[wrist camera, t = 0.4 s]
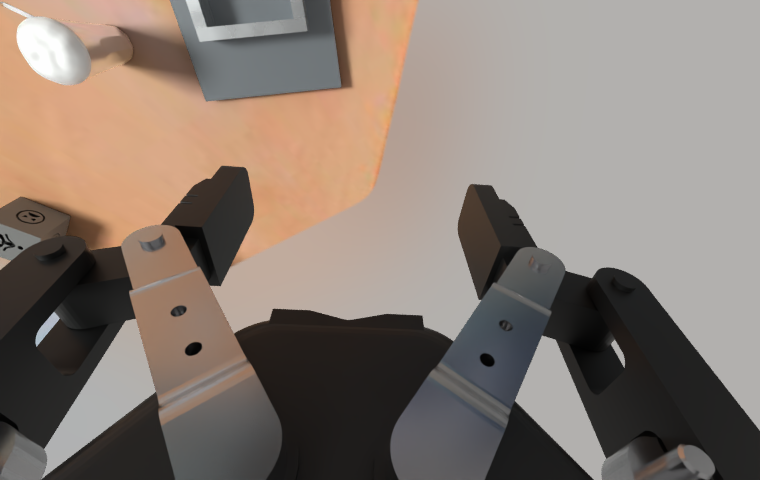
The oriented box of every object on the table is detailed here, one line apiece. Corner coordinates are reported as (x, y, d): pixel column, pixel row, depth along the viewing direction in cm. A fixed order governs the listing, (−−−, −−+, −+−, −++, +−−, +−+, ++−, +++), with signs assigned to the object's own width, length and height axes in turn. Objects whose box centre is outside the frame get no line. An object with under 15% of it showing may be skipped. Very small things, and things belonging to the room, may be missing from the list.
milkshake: (118, 0, 30) (33, -5, 22) (151, 66, 33) (87, 83, 25) (69, 10, 30) (-34, 8, 22) (106, 75, 33) (28, 94, 25)
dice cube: (21, 196, 39) (-17, 217, 35) (71, 215, 41) (40, 238, 37) (16, 226, 41) (-21, 250, 37) (63, 244, 43) (34, 268, 39)
